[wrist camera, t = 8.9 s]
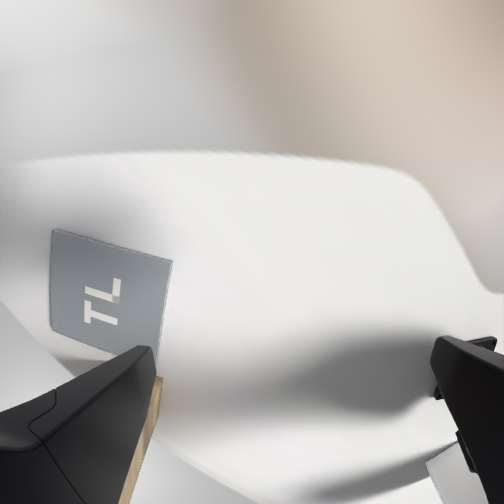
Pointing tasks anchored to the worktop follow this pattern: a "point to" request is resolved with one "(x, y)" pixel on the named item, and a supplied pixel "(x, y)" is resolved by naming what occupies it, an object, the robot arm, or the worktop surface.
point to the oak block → (142, 443)
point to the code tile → (107, 294)
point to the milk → (455, 478)
